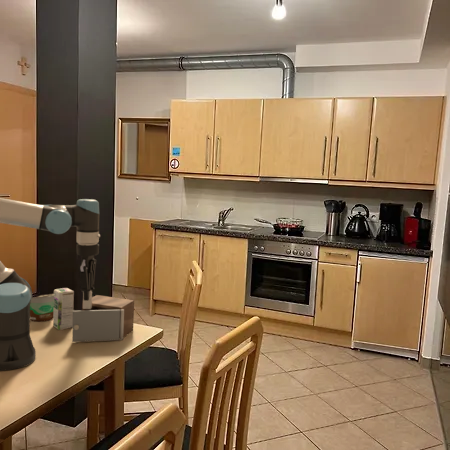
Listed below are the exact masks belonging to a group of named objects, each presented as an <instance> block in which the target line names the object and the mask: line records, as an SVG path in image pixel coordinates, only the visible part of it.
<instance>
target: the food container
mask: <svg viewBox="0 0 450 450" xmlns="http://www.w3.org/2000/svg"><path fill="white" fill-rule="evenodd" d="M53 312H54V292H53V293H49V294H39V295H37V296H32V299H31V304H30V322H33V323H43V322H49V321H51V320H53Z"/></svg>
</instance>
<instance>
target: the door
mask: <svg viewBox="0 0 450 450" xmlns="http://www.w3.org/2000/svg"><path fill="white" fill-rule="evenodd" d="M123 329H124V309H121V315H120V310H82V309H81V310H73V327H72V329H71V330H72V333H71V335H72V338H71V339H72V343H79V342H82V343H83V342H102V341H103V342H104V341H106V342H107V341H122V340H123V341H124V338H123ZM119 331H120V339H119Z"/></svg>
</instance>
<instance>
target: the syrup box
mask: <svg viewBox="0 0 450 450" xmlns="http://www.w3.org/2000/svg"><path fill="white" fill-rule="evenodd" d="M53 293H54V312H53V319H52V320H53V322H52V325H53V327H54V328H56V329H57V330H58V331H61V330H62V331H63V330H65V329H71V328H72V329H73V311H74V302H75V301H74V297H75V291H74V290H72V289H70V288H68V287H62V288H61V287H60V288H56V289H54V290H53Z"/></svg>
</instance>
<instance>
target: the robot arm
mask: <svg viewBox="0 0 450 450" xmlns="http://www.w3.org/2000/svg"><path fill="white" fill-rule="evenodd" d="M0 224H6V225H11V226H18V227H25V228H30V229H35V230H40V231H41V230H42V231H47V232H50V233H52V234H55V235H62V234H65V233H66V232H67V231H69V230H70V228H71V227H72V228H74V227H76V243H77V244H76V254H77V255H78V256H81V259H80V265H78V266H77V267H78V268H77V269H78V272H79V273H78V274H79V285H80V292H82V302H83V309H91V308H92V297H93V291H94V290H95V277H96V267H97V259H95V256H97V255H99V253H100V251H99V250H100V244H99V241H100V240H99V239H100V238H101V234H100V202H99V201H98V200H96V199H93V198H91V199H89V198H82V199H81V198H80V199H78V200H77V201H76V204H70V205H69V204H66V205H65V204H38V203H37V204H36V203H31V202H24V201H21V200H14V199H9V198H3V197H0ZM32 297H33V292H32V287H31V285H30V284H29V282H28V281H27V280H26V279H25V278H23V277H21V276H19V274H18V273H17V272H16V271H15V269H14V268H11V267H10V268H7V267H6V266H5V265H4V263H3V262H2V261H1V260H0V371H11V370H16V369H20V368H23V367H27V366H28V365H31V364H32V363H33V362H34V361H35V360H36V355H37V354H36V348H35V347H34V343H33V341H32V337H31V334H30V332H31V331H30V329H31V328H30V327H31V324H30V323H31V321H30V304H31V299H32Z"/></svg>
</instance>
